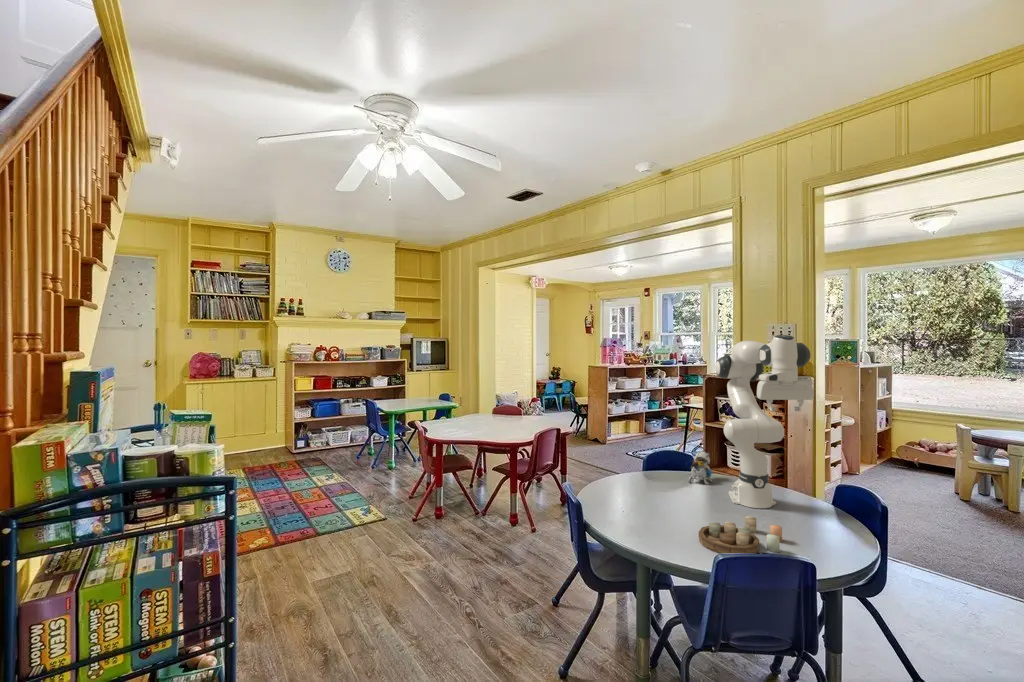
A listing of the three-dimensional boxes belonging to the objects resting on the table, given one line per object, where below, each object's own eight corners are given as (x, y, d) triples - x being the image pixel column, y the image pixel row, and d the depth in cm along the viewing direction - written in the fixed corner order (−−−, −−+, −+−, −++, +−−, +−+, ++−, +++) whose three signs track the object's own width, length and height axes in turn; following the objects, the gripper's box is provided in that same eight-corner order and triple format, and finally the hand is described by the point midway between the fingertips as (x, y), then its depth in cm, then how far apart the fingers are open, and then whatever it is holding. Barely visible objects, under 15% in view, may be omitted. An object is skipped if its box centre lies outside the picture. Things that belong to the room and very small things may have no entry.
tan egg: (743, 528, 185) (743, 516, 185) (753, 529, 184) (753, 516, 184) (747, 532, 181) (747, 520, 181) (758, 533, 180) (758, 520, 180)
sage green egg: (764, 547, 168) (764, 533, 168) (776, 548, 167) (776, 534, 167) (769, 552, 164) (769, 538, 164) (781, 553, 163) (781, 539, 163)
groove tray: (692, 531, 182) (692, 517, 182) (745, 533, 180) (745, 519, 180) (708, 555, 162) (708, 539, 162) (768, 557, 160) (768, 541, 160)
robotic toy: (718, 479, 250) (718, 451, 250) (706, 487, 237) (706, 457, 237) (695, 474, 259) (694, 448, 259) (682, 481, 246) (681, 453, 246)
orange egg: (768, 537, 176) (768, 524, 176) (779, 538, 176) (779, 524, 176) (772, 542, 172) (772, 528, 172) (784, 542, 172) (784, 529, 172)
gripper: (807, 375, 185) (808, 409, 185) (754, 375, 186) (755, 409, 186) (816, 376, 178) (817, 412, 178) (761, 376, 180) (762, 412, 180)
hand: (785, 411), depth 182 cm, fingers open, 8 cm apart
